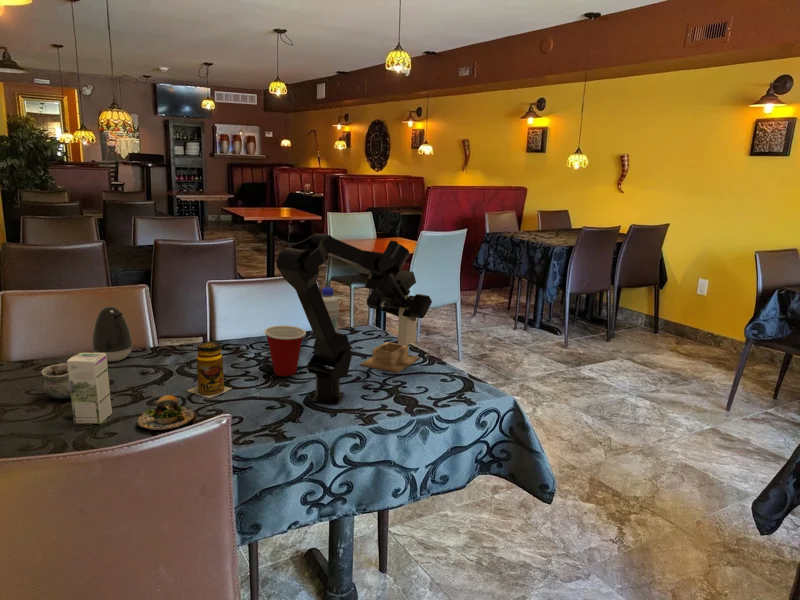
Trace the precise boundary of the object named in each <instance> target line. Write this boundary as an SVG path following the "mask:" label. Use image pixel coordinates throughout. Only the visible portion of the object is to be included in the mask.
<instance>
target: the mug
mask: <svg viewBox="0 0 800 600" xmlns="http://www.w3.org/2000/svg"><path fill="white" fill-rule="evenodd" d="M40 373H41V375H42V377H43V379H44V380H43V384H42V385H43V390H44V392H45V394H47V395H48V396H49V397H50V398H53V399H61V400H64V399H71V393H70V384H69V375H68V367H67V362H66V363H63V362H62V363H57V364H52V365H49V366H47V367H44V368H42V370H41V372H40Z"/></svg>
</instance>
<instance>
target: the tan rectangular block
mask: <svg viewBox="0 0 800 600" xmlns="http://www.w3.org/2000/svg"><path fill="white" fill-rule="evenodd" d="M404 311H405V309H404V308H399V317H398V327H397V344H402V345H408V346H409V345H410V344H414V343H416V341H417V320H418V318H416V320H415V321H412V320H410V319H408V318H406V317H405V316H403V315H402V314H403V312H404Z"/></svg>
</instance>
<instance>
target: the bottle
mask: <svg viewBox="0 0 800 600" xmlns="http://www.w3.org/2000/svg"><path fill="white" fill-rule="evenodd" d="M321 295H322V298H323V300H324V303H325V306H326V308H327V311H328V313H329V316H330V318H331V321H332V324H333V326H334V329H335V331H336V333H339V314H340V312H339V311H340V304H339V298H338V297H337V296H334V288H332V287H329V286H327V287H323V288H322V290H321Z"/></svg>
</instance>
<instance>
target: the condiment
mask: <svg viewBox="0 0 800 600" xmlns="http://www.w3.org/2000/svg"><path fill="white" fill-rule="evenodd" d="M221 352H222V349H221V344H220V343H218V342H216V341H215V342H214V341H207V342H203V343H202V342H201V343H200V344H198V345H197V356H196V372H197V376H196V377H197V385H198V386H196V387H192V388H191V389H187V390H186V392H188V393H192V394H195V395H198V396H201V397H204V398H207V399H211V398H213V397H216V396H220V395H222V394H223V393H227V392H228V391H230V390H232V389H233V388H232V387H228V386H225V381H224V380H225V377H224V361H223V360H224V358H223V354H222V353H221Z"/></svg>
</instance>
